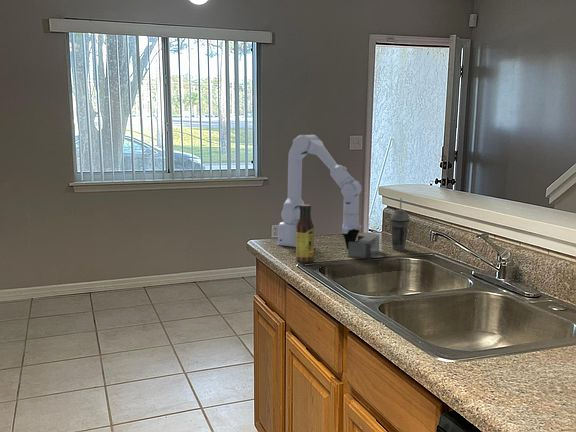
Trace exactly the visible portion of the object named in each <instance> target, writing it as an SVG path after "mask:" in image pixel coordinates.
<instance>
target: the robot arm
mask: <svg viewBox="0 0 576 432" xmlns="http://www.w3.org/2000/svg"><path fill="white" fill-rule="evenodd" d="M287 154H288V158H287V159H288V160H287V163H288V164H287V198H286V200H285V202H283V205H282V206H283V207H282V211H281V213H280V214H281V215H280V216H281V219H282V221H281V222H279V224H278V228H277V244H276V245H277V246H283V247H284V246H286V247H295V248H296V231H297V227H296V226H297V222H298V221H299V219H300V205H305V202H304V200H303V199H302V189H303V188H302V187H303V186H302V185H303V183H302V181H303V180H302V179H303V159H304V158H305V157H306V156H307V155H308V154H311V155H316V156H317V157H318V158H319V159H320V160H321V162H322V163H323V164H324V165H325V166H326V167H327V168H328V169H329V170H330V171H329V172H330V173H329V175H330V176H331V178H332V179H333V180H334V182H335V183H336V184H337V185H338V187H339V188H340V192H341V194H342V197H343V212H342V214H343V215H342V217H343V218H342V221H343V222H342V228H341V234H342V236H343V238H344V241H345V246H346V249H347V250H348V245H349V241H355V242H356V241H357V238H358V236H359V233H360V230H359V229H361V228H362V225H361V224H360V220H359V219H360V217H359V215H360V214H359V213H360V194H362V191H363V187H362V184H361V182H360V181H359V180H355V177H354V176H352V175H351V174H350V173H349V172H348V171H347V170H348V168H347V167H346V166H343V165H341V164H338V163H337V162H336V161H335V160H336V159H334V158H333V156H332V155H331V153H330V152H329V151H328V149H327V148H326V146H325V145H324V142H323V141H322V140H321V139H320V138H319V136H317V135H316V134H299V135H297V136H296V137H295V138H294V139H293V140H292V145H291V147H290V149H289V150H288V153H287Z"/></svg>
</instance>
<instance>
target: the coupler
mask: <svg viewBox="0 0 576 432" xmlns="http://www.w3.org/2000/svg"><path fill="white" fill-rule="evenodd" d="M380 236H381V235H380V234H377V233H368V234H367V235H359V234H358V235H357V241H359V242H356V240H355V241H349V245H348V249H347V251H348V255H347V256H348V257H350V258H359V259H360V258H361V259H367V258H368V259H369V260H370V259H371V258H373V256H375V255H376V254H377V253H379V252H380V238H381V237H380ZM368 259H367V260H368Z"/></svg>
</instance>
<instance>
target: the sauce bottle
mask: <svg viewBox="0 0 576 432" xmlns="http://www.w3.org/2000/svg"><path fill="white" fill-rule="evenodd" d="M311 209H312V205H311V204H304V205H300V219H299V221H298V222H297V226H296V227H297V231H296V247H295V259H296V261H297V262H298V263H309V262H312V261H314V254H315V253H314V250H315V248H314V247H315V246H314V245H315V242H314V241H315V227H314V224H313V221H312V216H311V215H312V214H311Z"/></svg>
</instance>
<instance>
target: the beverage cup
mask: <svg viewBox="0 0 576 432" xmlns="http://www.w3.org/2000/svg"><path fill="white" fill-rule="evenodd" d="M399 200H400V201H399V209H396V210H394V211H393V212H392V214H391V216H390V219H389V220H390V225H391V228H390V229H391V243H392V244H391V245H392V250H393V251H398V252H401V251H405V248H406V241H407V234H408V228H409V227H408V226H409V223H410V215H409V214H408V212H407V211H406V210H404V209H402V200H403V199H402V198H400V199H399Z"/></svg>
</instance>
